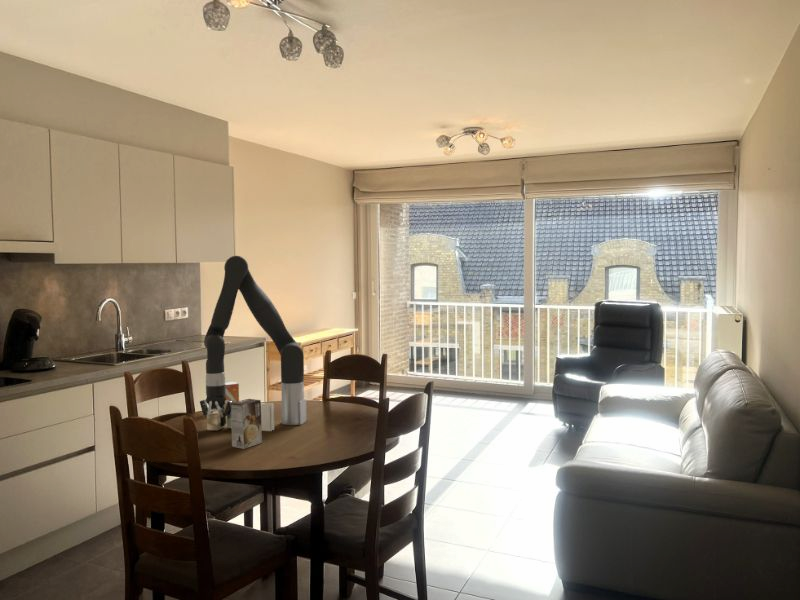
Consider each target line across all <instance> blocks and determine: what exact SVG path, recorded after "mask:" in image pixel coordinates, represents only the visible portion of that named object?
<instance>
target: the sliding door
mask: <svg viewBox="0 0 800 600" xmlns="http://www.w3.org/2000/svg"><path fill="white" fill-rule="evenodd" d="M226 422H227V426H226V427H227V428H229V429H232V426H231V412H230V415H227V416H226Z"/></svg>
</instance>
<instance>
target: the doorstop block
mask: <svg viewBox="0 0 800 600" xmlns="http://www.w3.org/2000/svg"><path fill="white" fill-rule="evenodd" d="M220 418H221V416H220V413H219V412H218V410H214V412H213V413H211V414H208V415H207V416H206V424H207V425H206V430H207V431H220V430H221V429H223V428H226V427H227V421H226V424H225V426H223V427H221V424H220Z"/></svg>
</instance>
